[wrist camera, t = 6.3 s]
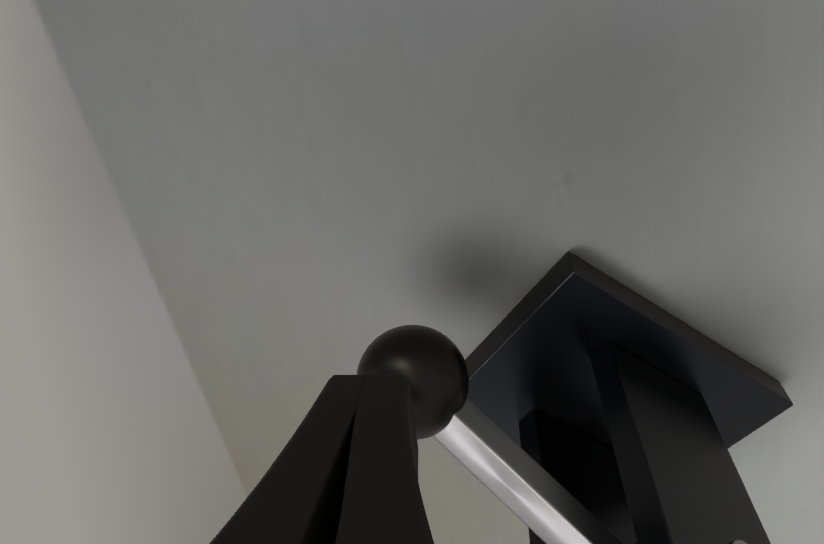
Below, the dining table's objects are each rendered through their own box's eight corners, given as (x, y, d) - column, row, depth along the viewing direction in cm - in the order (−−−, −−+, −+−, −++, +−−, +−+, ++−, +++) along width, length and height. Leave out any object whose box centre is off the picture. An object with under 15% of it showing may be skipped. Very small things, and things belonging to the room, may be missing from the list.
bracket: (435, 391, 23) (417, 685, 15) (568, 250, 19) (649, 543, 11) (626, 488, 26) (705, 789, 17) (779, 381, 22) (982, 705, 13)
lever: (371, 353, 19) (315, 401, 16) (424, 287, 17) (372, 329, 15) (663, 628, 18) (655, 733, 15) (751, 585, 16) (760, 692, 13)
